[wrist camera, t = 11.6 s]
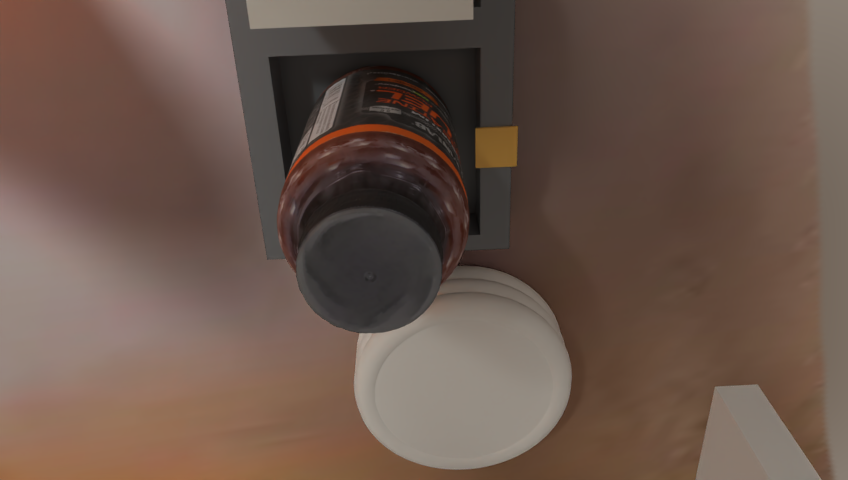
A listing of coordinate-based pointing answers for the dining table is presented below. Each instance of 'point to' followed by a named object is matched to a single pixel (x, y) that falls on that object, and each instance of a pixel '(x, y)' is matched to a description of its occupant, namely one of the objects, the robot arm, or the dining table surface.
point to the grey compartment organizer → (380, 46)
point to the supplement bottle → (374, 201)
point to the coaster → (466, 374)
